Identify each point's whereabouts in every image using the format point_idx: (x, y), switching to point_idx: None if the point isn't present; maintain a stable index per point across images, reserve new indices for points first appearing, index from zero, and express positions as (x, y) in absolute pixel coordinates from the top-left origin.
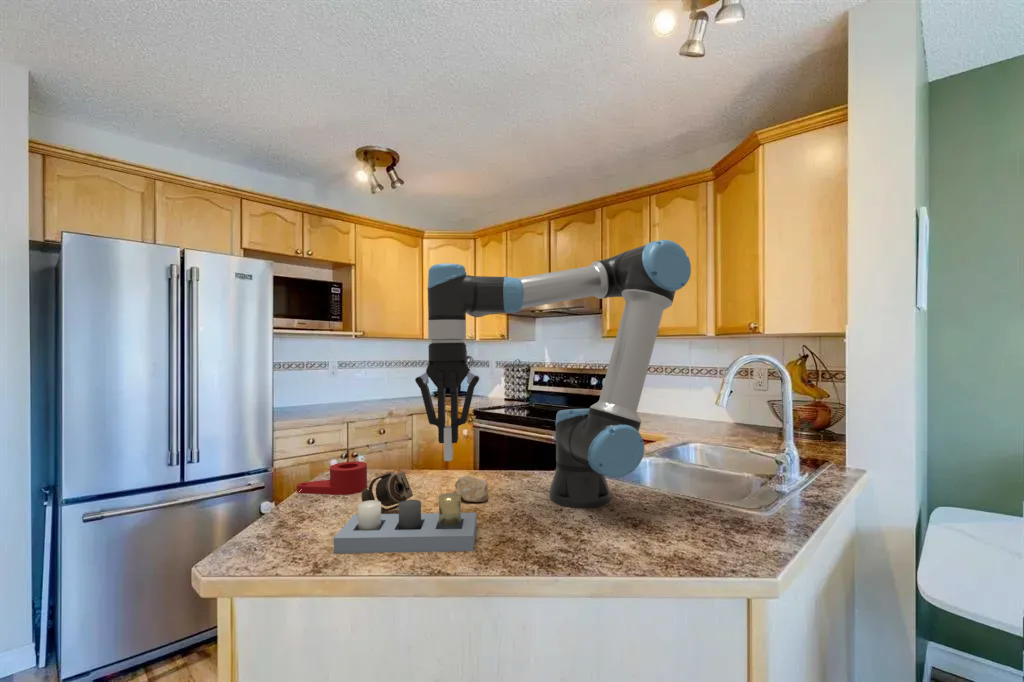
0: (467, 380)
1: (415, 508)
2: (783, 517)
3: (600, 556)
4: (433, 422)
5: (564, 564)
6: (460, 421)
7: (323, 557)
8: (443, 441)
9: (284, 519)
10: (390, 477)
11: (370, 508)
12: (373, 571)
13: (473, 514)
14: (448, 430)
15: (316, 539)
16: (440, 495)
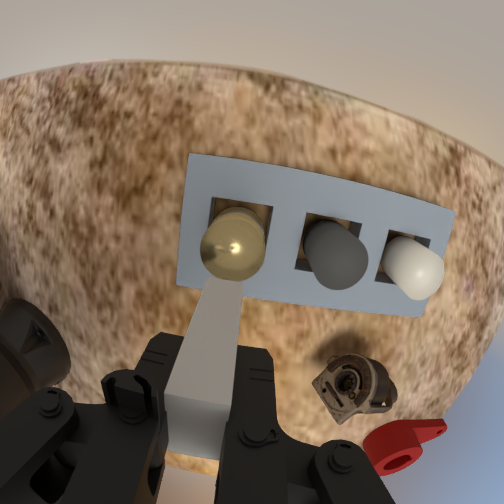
0: None
1: (327, 237)
2: None
3: (24, 126)
4: (326, 454)
5: (66, 98)
6: (71, 413)
7: (451, 199)
8: (240, 351)
9: (475, 345)
10: (371, 395)
11: (424, 252)
12: (381, 119)
13: (182, 275)
14: (191, 383)
15: (457, 271)
16: (259, 266)
